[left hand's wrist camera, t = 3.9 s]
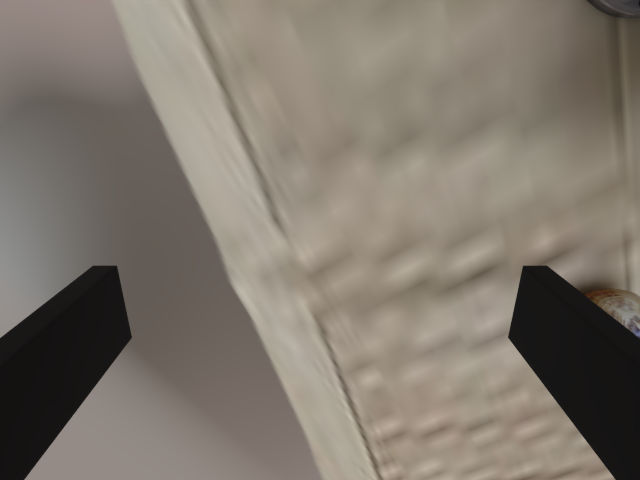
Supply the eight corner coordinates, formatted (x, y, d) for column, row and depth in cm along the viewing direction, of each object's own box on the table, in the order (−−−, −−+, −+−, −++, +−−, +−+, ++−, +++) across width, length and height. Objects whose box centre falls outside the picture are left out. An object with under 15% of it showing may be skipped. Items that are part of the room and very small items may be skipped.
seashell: (618, 269, 49) (671, 301, 42) (625, 305, 51) (677, 342, 44) (543, 297, 51) (581, 333, 43) (553, 331, 52) (591, 371, 45)
